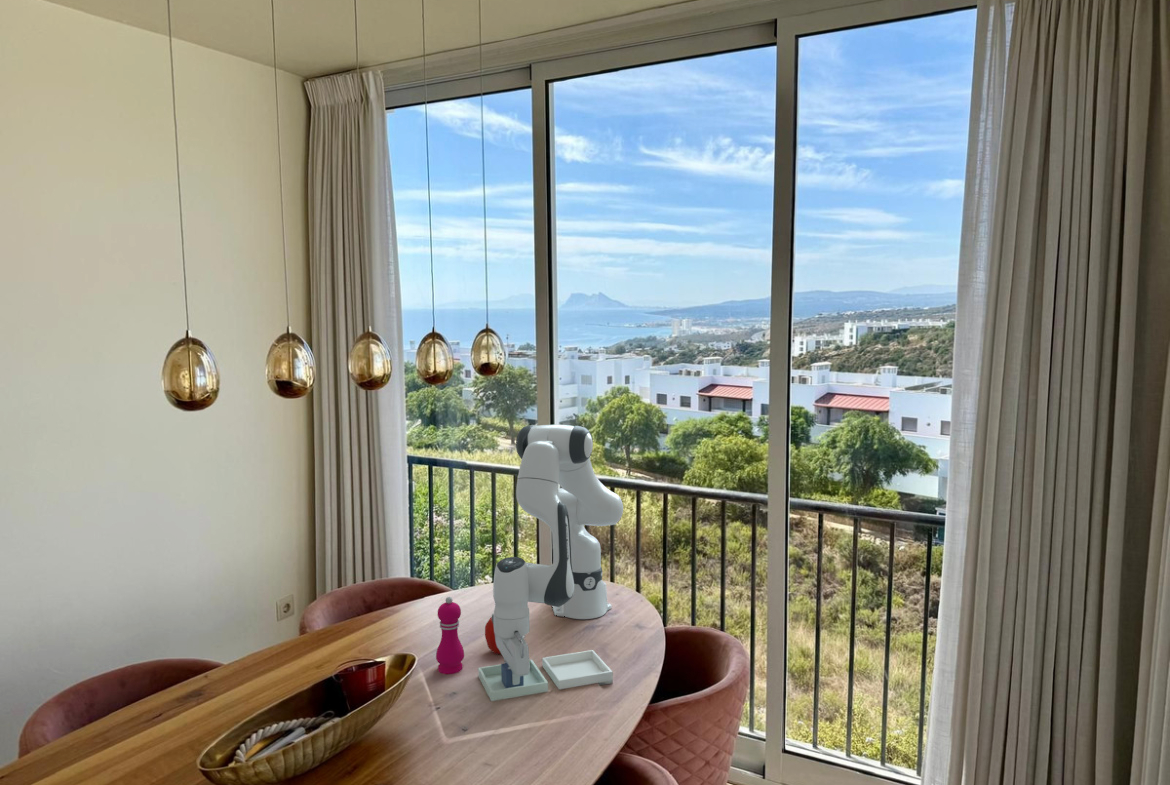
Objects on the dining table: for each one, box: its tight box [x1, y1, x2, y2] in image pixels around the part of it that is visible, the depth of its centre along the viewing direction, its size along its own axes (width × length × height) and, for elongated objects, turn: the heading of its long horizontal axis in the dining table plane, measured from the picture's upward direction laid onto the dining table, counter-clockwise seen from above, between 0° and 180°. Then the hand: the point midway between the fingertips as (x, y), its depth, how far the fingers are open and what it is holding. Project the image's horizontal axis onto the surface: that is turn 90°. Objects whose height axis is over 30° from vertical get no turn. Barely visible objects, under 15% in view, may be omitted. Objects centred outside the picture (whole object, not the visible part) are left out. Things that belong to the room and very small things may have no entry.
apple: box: [484, 616, 502, 655], centre depth 214 cm, size 10×10×12 cm
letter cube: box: [500, 662, 524, 688], centre depth 194 cm, size 4×4×5 cm
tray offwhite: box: [541, 649, 614, 690], centre depth 200 cm, size 14×14×3 cm
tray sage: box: [477, 659, 549, 702], centre depth 194 cm, size 14×14×3 cm
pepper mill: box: [435, 596, 465, 675], centre depth 202 cm, size 7×7×20 cm
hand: (512, 678), depth 194 cm, fingers closed on letter cube, 4 cm apart
